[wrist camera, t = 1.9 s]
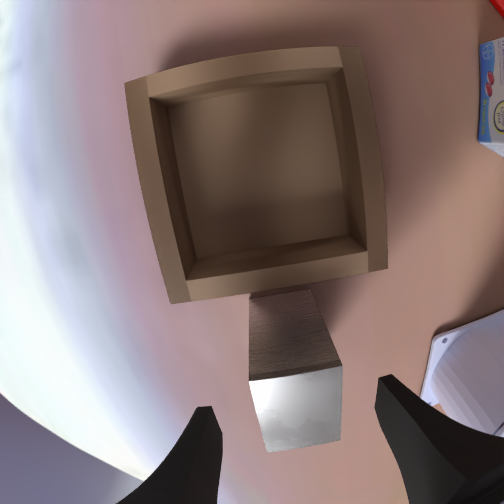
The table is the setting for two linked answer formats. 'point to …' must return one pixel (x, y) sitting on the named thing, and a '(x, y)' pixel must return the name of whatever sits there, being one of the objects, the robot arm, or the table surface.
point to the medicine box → (492, 95)
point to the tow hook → (499, 6)
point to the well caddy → (260, 171)
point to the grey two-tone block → (293, 372)
